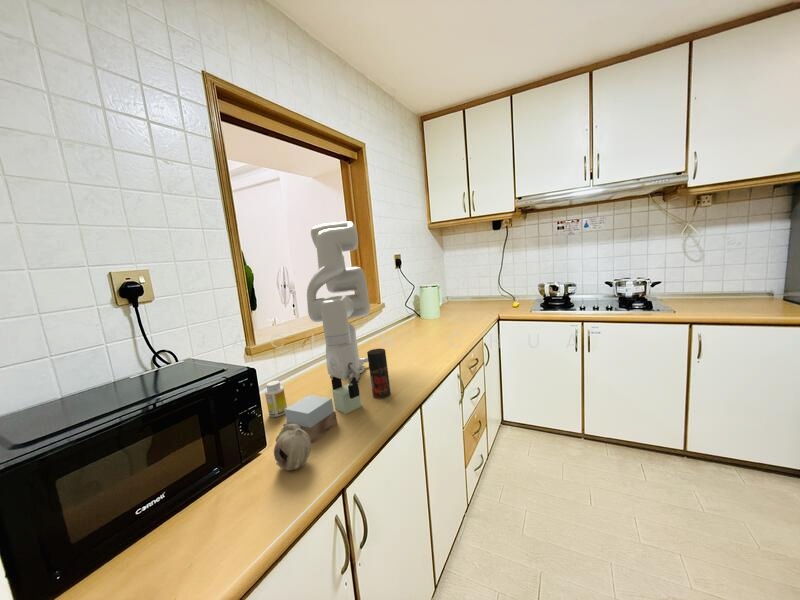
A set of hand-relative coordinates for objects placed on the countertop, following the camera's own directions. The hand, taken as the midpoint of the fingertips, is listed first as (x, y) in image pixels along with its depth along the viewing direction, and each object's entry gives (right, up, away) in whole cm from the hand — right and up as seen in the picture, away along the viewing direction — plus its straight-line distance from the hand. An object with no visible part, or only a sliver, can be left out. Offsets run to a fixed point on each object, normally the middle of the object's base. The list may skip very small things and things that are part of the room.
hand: (346, 393), depth 101 cm
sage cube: (0, -5, +1) cm, 5 cm away
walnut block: (-8, -8, -10) cm, 15 cm away
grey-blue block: (-8, -4, -10) cm, 13 cm away
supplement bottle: (-22, -7, +3) cm, 23 cm away
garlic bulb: (-7, -10, -25) cm, 28 cm away
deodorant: (+11, -3, +8) cm, 13 cm away
